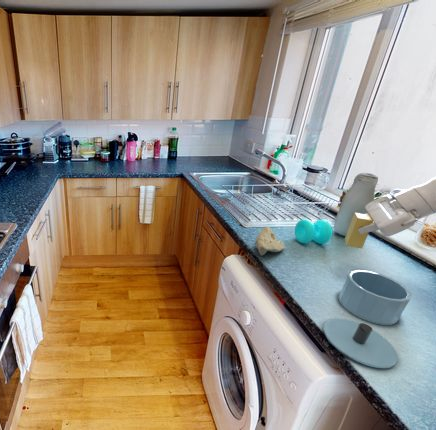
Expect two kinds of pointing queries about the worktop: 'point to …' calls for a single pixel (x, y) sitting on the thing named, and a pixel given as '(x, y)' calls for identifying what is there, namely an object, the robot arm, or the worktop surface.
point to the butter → (353, 234)
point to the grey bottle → (355, 201)
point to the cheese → (268, 241)
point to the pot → (374, 297)
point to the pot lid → (360, 343)
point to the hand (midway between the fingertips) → (356, 227)
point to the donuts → (313, 231)
